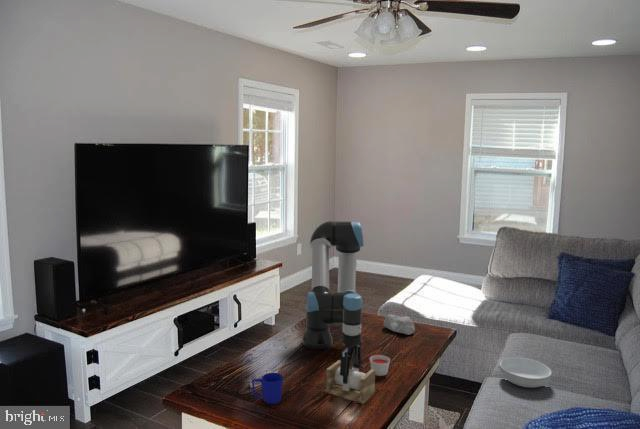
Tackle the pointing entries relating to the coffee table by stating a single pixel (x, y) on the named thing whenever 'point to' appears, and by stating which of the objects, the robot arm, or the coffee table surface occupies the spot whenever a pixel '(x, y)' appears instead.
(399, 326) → the decorative stone
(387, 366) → the candle
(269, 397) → the mug
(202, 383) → the coffee table surface
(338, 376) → the paper roll
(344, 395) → the oak roll cradle
